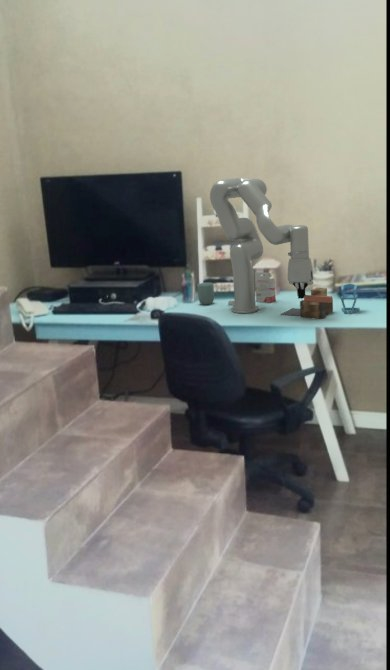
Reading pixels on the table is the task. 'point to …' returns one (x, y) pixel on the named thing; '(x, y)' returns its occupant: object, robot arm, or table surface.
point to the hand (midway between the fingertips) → (301, 297)
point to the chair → (347, 296)
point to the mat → (292, 312)
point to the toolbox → (315, 310)
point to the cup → (205, 293)
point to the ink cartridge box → (264, 287)
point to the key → (318, 298)
